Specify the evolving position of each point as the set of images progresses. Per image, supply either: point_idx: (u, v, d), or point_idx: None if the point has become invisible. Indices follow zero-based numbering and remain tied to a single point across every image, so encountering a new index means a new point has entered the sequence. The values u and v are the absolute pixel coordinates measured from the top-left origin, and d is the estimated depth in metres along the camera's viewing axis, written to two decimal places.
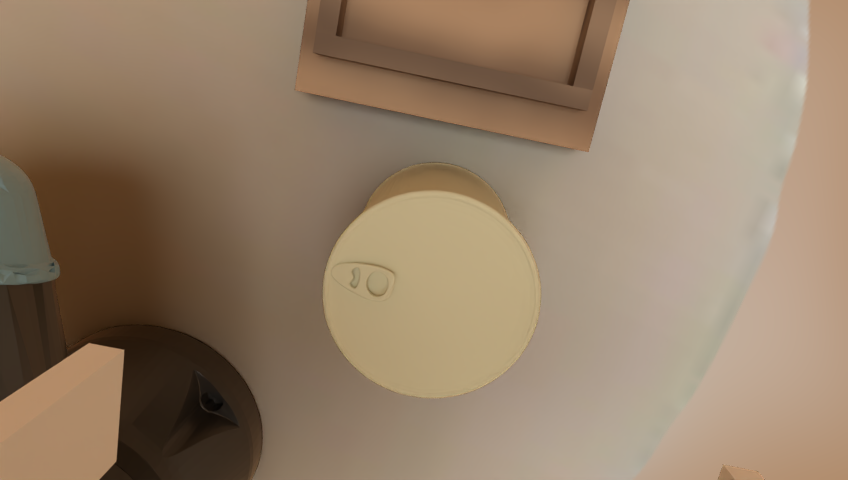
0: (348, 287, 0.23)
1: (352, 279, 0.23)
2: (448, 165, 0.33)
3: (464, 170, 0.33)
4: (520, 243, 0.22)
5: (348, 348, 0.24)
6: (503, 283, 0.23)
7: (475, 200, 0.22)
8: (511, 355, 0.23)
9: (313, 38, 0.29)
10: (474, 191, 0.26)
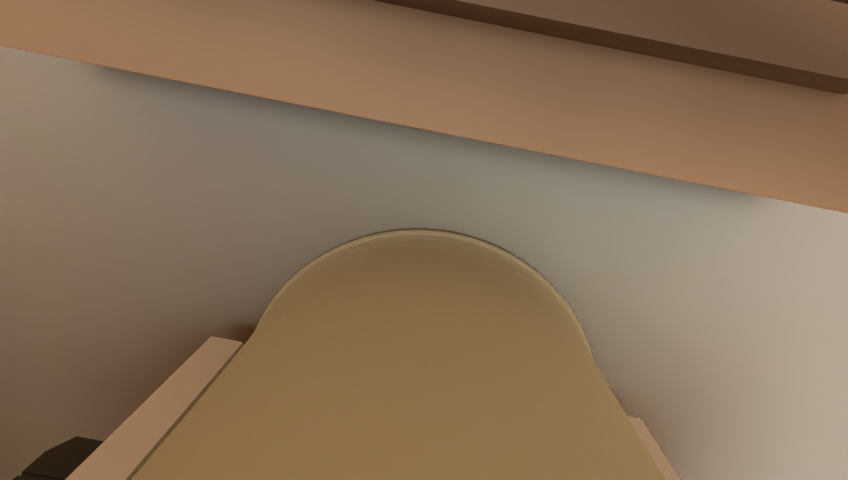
0: None
1: None
2: (450, 238, 0.13)
3: (489, 249, 0.13)
4: None
5: None
6: None
7: None
8: None
9: None
10: (560, 428, 0.06)
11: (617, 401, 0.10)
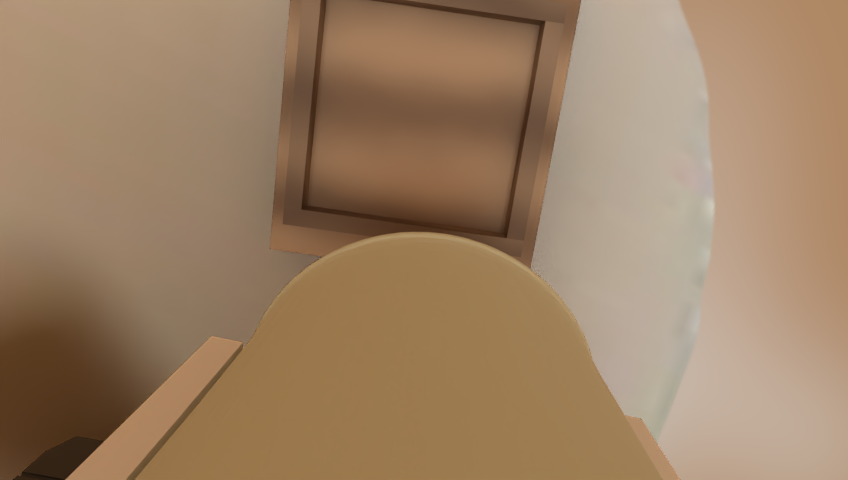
0: None
1: None
2: (449, 240, 0.13)
3: (489, 252, 0.13)
4: None
5: None
6: None
7: None
8: None
9: (282, 205, 0.33)
10: (560, 433, 0.06)
11: (617, 404, 0.10)
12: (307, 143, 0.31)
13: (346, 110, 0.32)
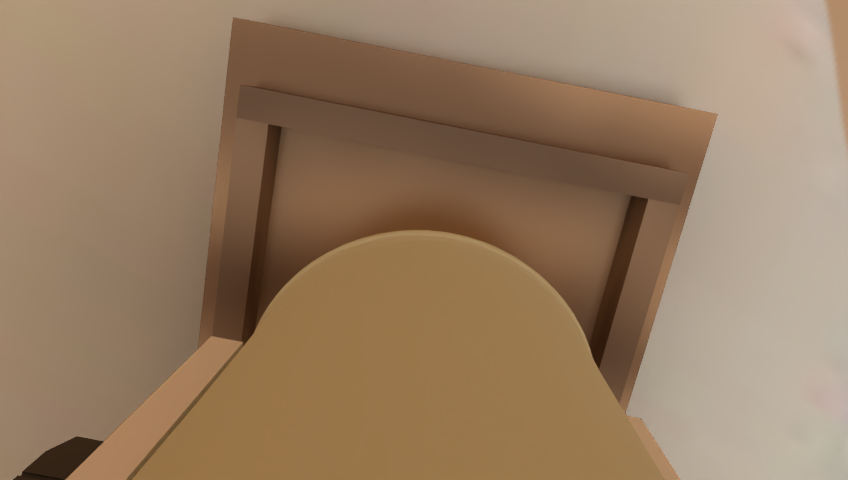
0: None
1: None
2: (449, 238, 0.13)
3: (489, 250, 0.13)
4: None
5: None
6: None
7: None
8: None
9: None
10: (561, 430, 0.06)
11: (617, 402, 0.09)
12: None
13: None
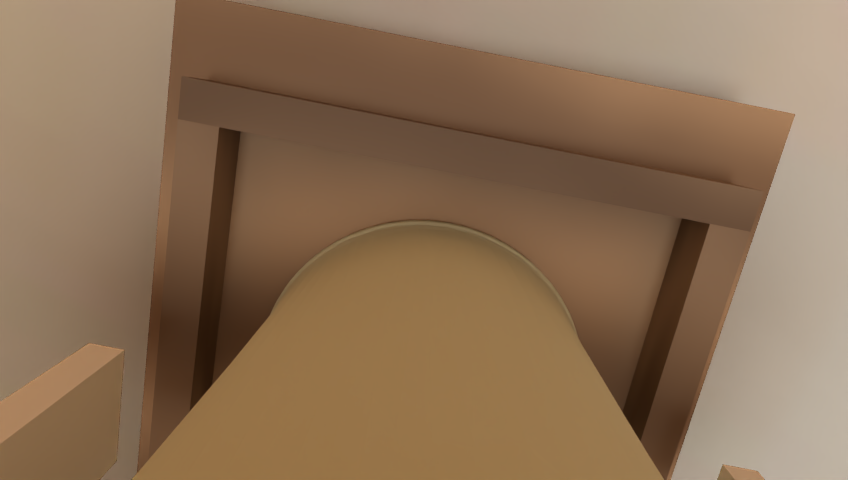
0: None
1: None
2: (448, 227, 0.15)
3: (484, 238, 0.15)
4: None
5: None
6: None
7: None
8: None
9: None
10: (538, 371, 0.08)
11: (594, 366, 0.11)
12: None
13: None
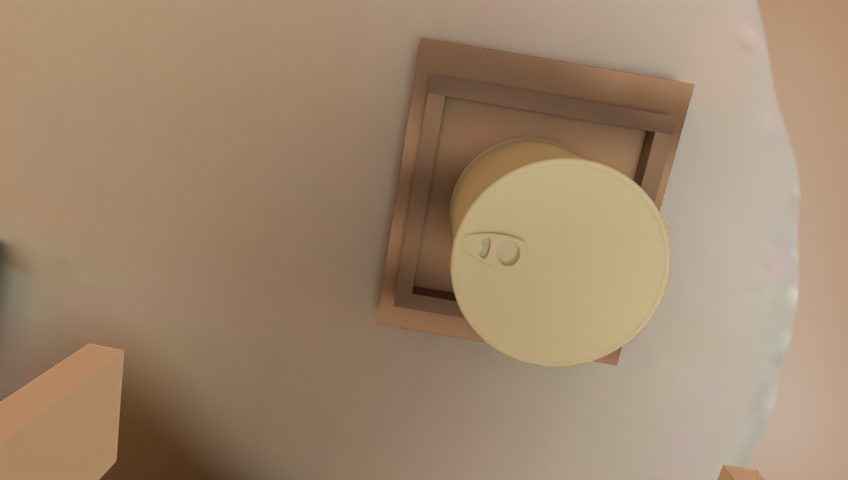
0: (478, 257, 0.23)
1: (482, 249, 0.23)
2: (540, 139, 0.33)
3: (556, 144, 0.33)
4: (652, 208, 0.22)
5: (475, 318, 0.24)
6: (633, 249, 0.23)
7: (607, 166, 0.22)
8: (639, 322, 0.24)
9: (390, 285, 0.36)
10: None
11: None
12: (421, 234, 0.34)
13: None
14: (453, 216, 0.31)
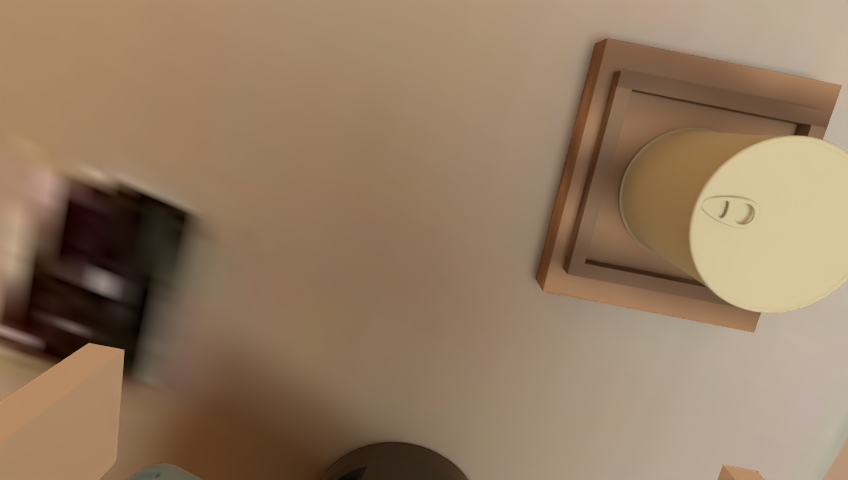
0: (716, 217, 0.28)
1: (720, 210, 0.28)
2: (706, 130, 0.38)
3: None
4: None
5: (706, 270, 0.28)
6: (844, 213, 0.28)
7: None
8: (843, 275, 0.28)
9: (559, 257, 0.40)
10: None
11: None
12: (598, 211, 0.38)
13: None
14: (640, 192, 0.35)
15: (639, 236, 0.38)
